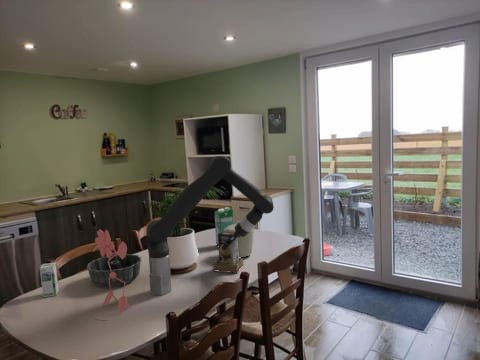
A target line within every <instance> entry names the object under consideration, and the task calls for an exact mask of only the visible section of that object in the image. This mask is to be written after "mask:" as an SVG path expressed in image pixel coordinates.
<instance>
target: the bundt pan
mask: <svg viewBox="0 0 480 360" xmlns="http://www.w3.org/2000/svg"><path fill="white" fill-rule="evenodd" d="M114 255H115V254H112V256H114ZM112 256H110V258H111V257H112ZM108 260H109V258H108V257H107V256H104V257H102V256H101V257H100V258H97V259H94V260H92V261H91V262H89V263H87V266H86V269H87V271H88V274H89V278H90V280H91V282H92V283H94V284H95V285H97V286H99V287H100V286H101V287H102V288H106V287H109V288H110V287H111V288H112V287H115V286H118V287H120V286H122V285H124V282H125V285H127V284H128V283H130V282H131V283H132V282H133V281H135V279H136V278H137V277H138V276H139V275H140V271H141V270H140V269H141V262H142V257H141V256H140V255H138V254H130V253H126V255H125V257H124V258H123V259H122V258H120V256H119V255H118V254H116V255H115V256H114V257H113V258H112V259H111V260H110V261H109V264H110V267H111V270H112V272H115V273H116V278H118V279H120V280H122V281H124V282H122V281H120V280H118V279H116V278H113V279H112V278H110V277H109V275H110V273H111V271H110V268H109V265H108V262H107V261H108ZM109 278H110V286H109Z"/></svg>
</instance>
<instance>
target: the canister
mask: <svg viewBox="0 0 480 360" xmlns="http://www.w3.org/2000/svg"><path fill="white" fill-rule="evenodd" d="M240 221H241V220H237V221H236V222H235V224H234V223H233V225H230V226H228V227H226V228H225V229H224V231H228V232H235V226H236V225H237V224H238V223H239V222H240ZM254 232H255V227H254V228H253V229H252V230H251V231H250V232H249V233H248V234H247V235H246V236H245V237H242V236H241V237H240V238H239V239H238V253H239V257H246V256H248V257H250V256H251V255H252V253H253V244H254V243H253V242H254ZM250 254H251V255H250ZM249 255H250V256H249ZM246 258H247V257H246Z"/></svg>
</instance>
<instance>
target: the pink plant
mask: <svg viewBox="0 0 480 360" xmlns="http://www.w3.org/2000/svg"><path fill="white" fill-rule="evenodd" d="M96 233H97V237H95V239H94V241H95V243H96V244H97V245H96V246H95V247H94V248H93V250H92V252H95V250H97V249H98V250H99V255H100V256H101V258H102V257H108V258H109V260H108V261H107V262H108V265H109V268H110V271H111V273H110V275H109V277H110V278H112V279H113V278H116V273H115V272H112V270H111V267H110V264H109V261H110V260H111V259H112V258H113V257H114V256H115V255H119V256H120V258H122V259H123V258H124V257H125V255H126V254H127V250H128V247H127V244H126V243H125V242H124V241H121V243H120V244H119V245H118V247H117V251H116V249H115V247H116V246H115V244H114V243H113V242H112V239H111V236H110V233H109V231H108V230H107V229H105V231H103V230H102V229H98V230H97V231H96ZM112 255H114V256H112ZM110 256H112V257H111V258H110ZM110 278H109V286H108V287H109V291H108V293H107V295H106V296H105V298H104V300H103V304H102V306H106V305H107V304H109V302H110V300H111V299H114V300H115V302H116V303H117V306H118V309H119V311H120V313H121V314H122V313H123V312H124V311H125V310H126V308H128V309H130V308H131V306H130V304H129V302H128V299H127V297H126V296H125V289H126V288H125V287H126V284H125V282H124V281H122V280H120V279H118V278H116V279H118V280H120V281H122V282H124V284H123V290H122V291H123V293H122V296H121V297H120V298H119V300H118V299H117V298H116V297H115V295H114V290H111V288H112V287H110ZM96 320H97V321H99V319H98V318H96ZM101 321H102V322H109V321H108V319H107V320H101Z"/></svg>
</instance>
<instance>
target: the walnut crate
mask: <svg viewBox="0 0 480 360" xmlns="http://www.w3.org/2000/svg"><path fill="white" fill-rule="evenodd" d="M242 266H243V267H244V258H239V262H237V263H236V264H225V263H219V258H218V259H217V260H216V261H215V262H213V271H214V270H219V271H230V272H238V271H239V269H240V268H241V267H242ZM239 272H240V271H239ZM239 272H238V273H239Z"/></svg>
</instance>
